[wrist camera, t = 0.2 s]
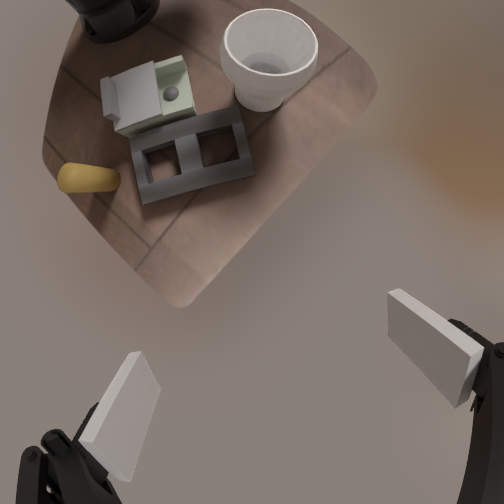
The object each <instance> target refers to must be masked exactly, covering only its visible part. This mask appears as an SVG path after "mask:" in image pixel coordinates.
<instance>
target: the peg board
mask: <svg viewBox="0 0 504 504" xmlns="http://www.w3.org/2000/svg"><path fill="white" fill-rule="evenodd" d="M228 130H233V134H234V138H235V142H236V146H237V150H238V154H239V159H237V160H233V161H229V162H225V163H221V164H217V165H213V166H209V167H205V163H204V159H203V154H202V150H201V146H200V141H199V138H200V137H204V136H207V135H211V134H215V133H219V132H223V131H228ZM129 143H130V149H131V154H132V159H133V164H134V169H135V174H136V179H137V183H138V188H139V192H140V196H141V201H142V205H145V204H151V203H154V202H157V201H161V200H164V199H167V198H171V197H174V196H177V195H181V194H185V193H188V192H192V191H195V190H199V189H203V188H207V187H210V186H214V185H218V184H222V183H226V182H230V181H234V180H239V179H243V178H247V177H252V176H255V175H256V173H255V169H254V165H253V161H252V157H251V153H250V149H249V145H248V140H247V136H246V132H245V128H244V124H243V120H242V117H241V113H240V109H239V106H234V107H230V108H225V109H221V110H217V111H213V112H209V113H205V114H201V115H198V116H194V117H190V118H187V119H184V120H180V121H177V122H174V123H170V124H167V125H164V126H161V127H158V128H155V129H152V130H149V131H147V132H144V133H141V134H138V135H136V136H133V137H130V138H129ZM172 145H176V150H177V154H178V159H179V163H180V168H181V172H182V174H180V175H177V176H173V177H170V178H167V179H163V180H160V181H157V182H154V180H153V176H152V171H151V167H150V162H149V157H148V153H151V152H154V151H157V150H160V149H163V148H166V147H169V146H172Z"/></svg>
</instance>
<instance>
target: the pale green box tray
mask: <svg viewBox="0 0 504 504" xmlns="http://www.w3.org/2000/svg"><path fill="white" fill-rule="evenodd" d="M155 71H156V77H157V83H158V89H159V95H160V100H161V106H162V111H163V115H162V116H159V117H156V118H153V119H150V120H147V121H145V122H142V123H139V124H137V125H134V126H131V127H129V128H126V129H124V130H121V131H119V132H118V133H120V134H122V135H124V136H126V137H128V138H130V137H133V136H136V135H138V134H141V133H144V132H147V131H149V130H152V129H155V128H158V127H161V126H164V125H167V124H170V123H174V122H177V121H180V120H184V119H187V118H190V117H194V116H197V112H196V108H195V103H194V99H193V94H192V89H191V85H190V80H189V75H188V71H187V67H186V64H185V62H184V60H183V57H182V55H180V56H176V57H173V58H170V59H167V60H164V61H161V62H158V63H155Z"/></svg>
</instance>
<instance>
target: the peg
mask: <svg viewBox="0 0 504 504" xmlns="http://www.w3.org/2000/svg"><path fill="white" fill-rule="evenodd" d="M120 181H121V178H120V174H119V172H118V171H117V170H115V169H110V168H104V167H98V166H91V165H84V164H77V163H66V164H64V165H63V166H62V167H61V169H60V170H59V173H58V176H57V183H58V187H59V189H60V190H61V191H62V192H64V193H82V192H112V191H115V190H116V189H117V188H118V187H119V185H120Z"/></svg>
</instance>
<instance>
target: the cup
mask: <svg viewBox="0 0 504 504" xmlns="http://www.w3.org/2000/svg"><path fill="white" fill-rule="evenodd" d="M219 51H220V58H221V65H222V69H223V71H224V73H225V75H226V77H227V78H228V79H229V80H230V81H231V82H232V83H233V84H234V85H235V89H234V90H235V95H236V97H237V100H238V101H239V102H240V103H241V104H242V105H243V106H244V107H246V108H247V109H249V110H252V111H256V112H268V111H271V110H274V109H276V108H277V107H279V106H280V105H281V104H282V102H283V101H284V99H285V97H286V95H287V94H290V93H293V92H294V91H296V90H298V89H299V88H301V87H302V86H303V85H304V84H305V83H306V82H307V81H308V79H309V78H310V76H311V75H312V73H313V71H314V69H315V67H316V64H317V54H318V42H317V39H316V36H315V34H314V32H313V31H312V29H311V28H310V26H308V25H307V24H306V23H305V22H304V21H303V20H302V19H300V18H298V17H297V16H295V15H293V14H291V13H288V12H285V11H282V10H276V9H257V10H253V11H249V12H246V13H244V14H242V15H240V16H238V17H237V18H235V19H234V20H233V21H232V22H231V23H230V24H229V26H228V27H227V29H226V30H225V33H224V35H223V38H222V41H221V45H220V50H219Z"/></svg>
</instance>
